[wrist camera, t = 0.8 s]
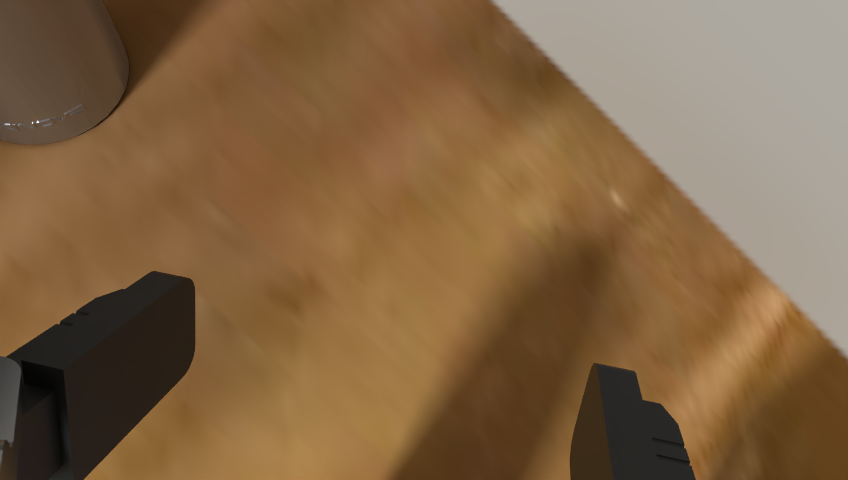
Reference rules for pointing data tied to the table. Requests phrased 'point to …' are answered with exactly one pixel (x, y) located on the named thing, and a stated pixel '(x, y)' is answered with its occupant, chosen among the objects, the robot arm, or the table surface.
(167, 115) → the table surface
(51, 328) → the robot arm
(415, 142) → the table surface
